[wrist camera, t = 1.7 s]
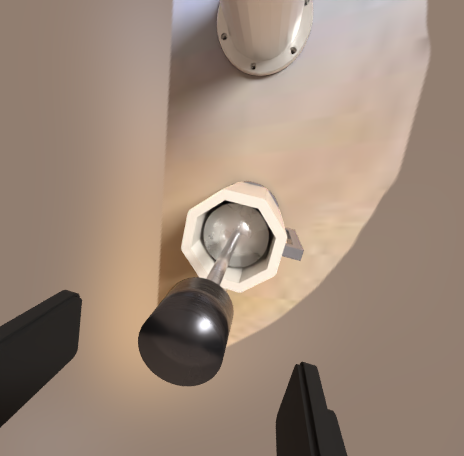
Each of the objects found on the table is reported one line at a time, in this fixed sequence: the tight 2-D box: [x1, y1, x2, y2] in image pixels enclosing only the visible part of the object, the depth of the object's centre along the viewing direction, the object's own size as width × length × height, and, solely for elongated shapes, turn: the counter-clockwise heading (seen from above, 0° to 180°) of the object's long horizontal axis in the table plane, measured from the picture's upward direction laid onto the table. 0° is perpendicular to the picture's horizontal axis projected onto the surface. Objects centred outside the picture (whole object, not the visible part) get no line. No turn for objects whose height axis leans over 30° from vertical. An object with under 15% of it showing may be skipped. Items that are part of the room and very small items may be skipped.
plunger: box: [138, 203, 269, 386], centre depth 19 cm, size 7×7×18 cm
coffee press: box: [181, 181, 304, 293], centre depth 32 cm, size 11×13×16 cm
